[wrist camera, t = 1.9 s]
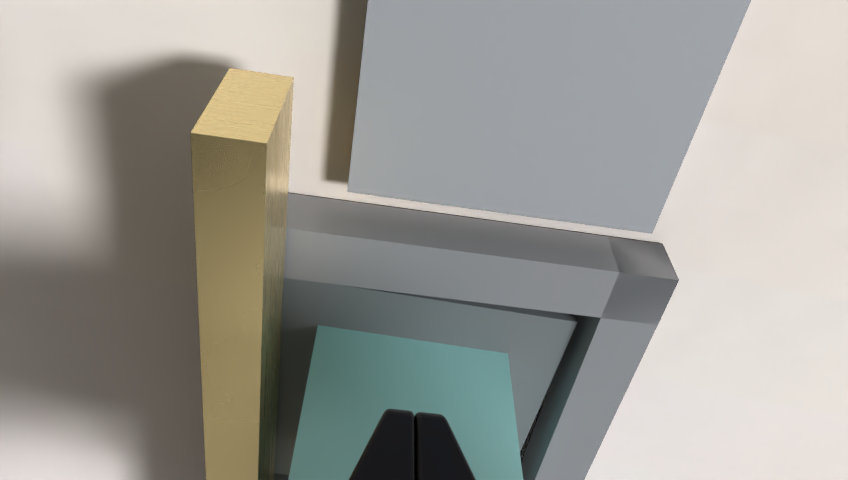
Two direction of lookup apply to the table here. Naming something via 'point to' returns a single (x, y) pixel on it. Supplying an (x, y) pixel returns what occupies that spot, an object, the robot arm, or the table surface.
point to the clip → (241, 267)
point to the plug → (408, 374)
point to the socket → (505, 298)
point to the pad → (536, 103)
